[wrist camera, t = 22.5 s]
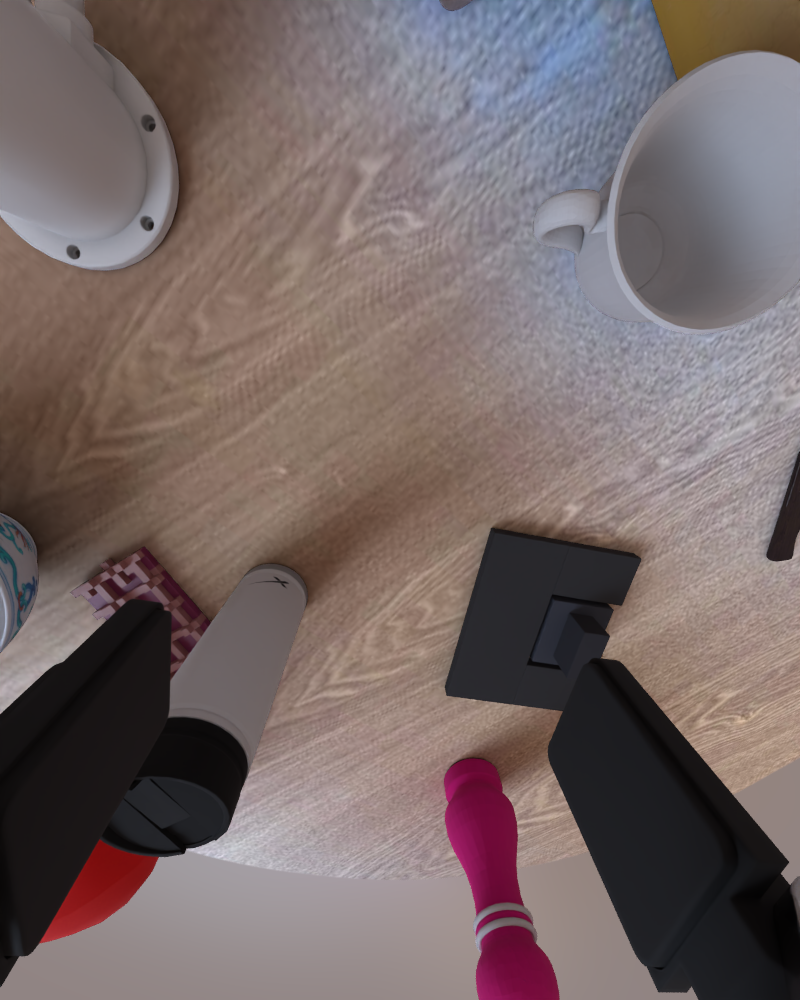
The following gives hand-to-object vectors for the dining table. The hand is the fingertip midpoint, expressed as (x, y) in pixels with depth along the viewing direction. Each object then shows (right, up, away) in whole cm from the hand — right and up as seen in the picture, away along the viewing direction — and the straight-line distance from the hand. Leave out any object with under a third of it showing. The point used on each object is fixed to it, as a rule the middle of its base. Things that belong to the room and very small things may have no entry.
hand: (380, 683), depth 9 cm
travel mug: (-11, -4, +27) cm, 30 cm away
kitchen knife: (+37, +7, +25) cm, 46 cm away
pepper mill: (+9, -27, +36) cm, 46 cm away
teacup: (+15, +22, +20) cm, 33 cm away
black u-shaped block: (+14, -8, +29) cm, 34 cm away
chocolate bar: (-21, -9, +28) cm, 36 cm away
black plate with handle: (+17, -9, +30) cm, 35 cm away
